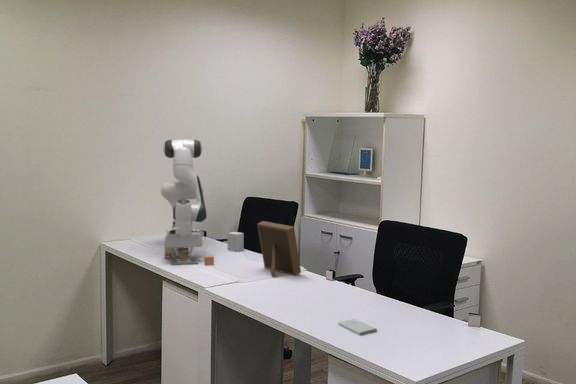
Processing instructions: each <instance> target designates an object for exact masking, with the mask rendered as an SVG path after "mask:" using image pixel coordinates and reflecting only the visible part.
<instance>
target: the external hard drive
mask: <svg viewBox="0 0 576 384" xmlns="http://www.w3.org/2000/svg"><path fill="white" fill-rule="evenodd" d="M337 324H338V326H340V327H341V328H344V329H345V330H347V331H350V332H352V333H354V334H355V335H358V336H364V335H368V334H372V333H376V332H378V328H376V327H374V326H372V325H370V324H367V323H365V322H363V321H360V320H358V319H355V318H351V319H346V320H343V321H339V322H338V323H337Z"/></svg>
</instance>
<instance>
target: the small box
mask: <svg viewBox="0 0 576 384" xmlns="http://www.w3.org/2000/svg"><path fill="white" fill-rule="evenodd" d="M244 235H245V234H244V232H239V231H238V232H237V231H231V232H227V251H230V252H241V251H244V247H245V246H244V245H245V244H244V240H245V239H244V238H245V237H244Z"/></svg>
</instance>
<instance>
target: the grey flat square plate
mask: <svg viewBox="0 0 576 384" xmlns="http://www.w3.org/2000/svg"><path fill="white" fill-rule="evenodd" d="M169 263H170V266H183V265H184V266H185V265H189V266H190V265H199V263H198V259H197V258H196V257H195V256H190V257H189V259H179V257H177V258H169Z"/></svg>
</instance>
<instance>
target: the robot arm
mask: <svg viewBox="0 0 576 384" xmlns="http://www.w3.org/2000/svg"><path fill="white" fill-rule="evenodd" d="M162 146H163V149H162V150H163V153H164V156H165V157H166V158H169V159H173V160H172V172H173V176H174V178H175V179H176V181H169V182H164V183H163V184H162V185H161V188H160V194H161V196H162V197H163V199H165V200H166V201H168V203H169V204H170V206H171V207H172V220H173V221H172V227H169V228H168V229H166V234H165V236H164V248H165V247H166V248H174V250H175V252H176V256H178V255H179V252H177V250H176V249H177V247H184V248H190V250H189V256H192V252H193V251H194V248H199V247H200V248H201V247H203V236H204V232H203V230H201V229H193V222H195V223H203V222H204V221H205V220H206V219H207V217H208V210H207V207H206V204H205V198H204V187H203V185H202V183H201V180H200V177H199V176H198V175H197V174H196V173H195V171H194V161H193V159H197V158H199V157H200V156H201V154H202V152H203V145H202V144H201V141H200V140H198V139H185V138H183V139H167V140H166V141H165V142H164V144H163V145H162ZM191 200H196V203H194V204H193V203H192V202H191ZM178 257H179V256H178Z"/></svg>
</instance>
